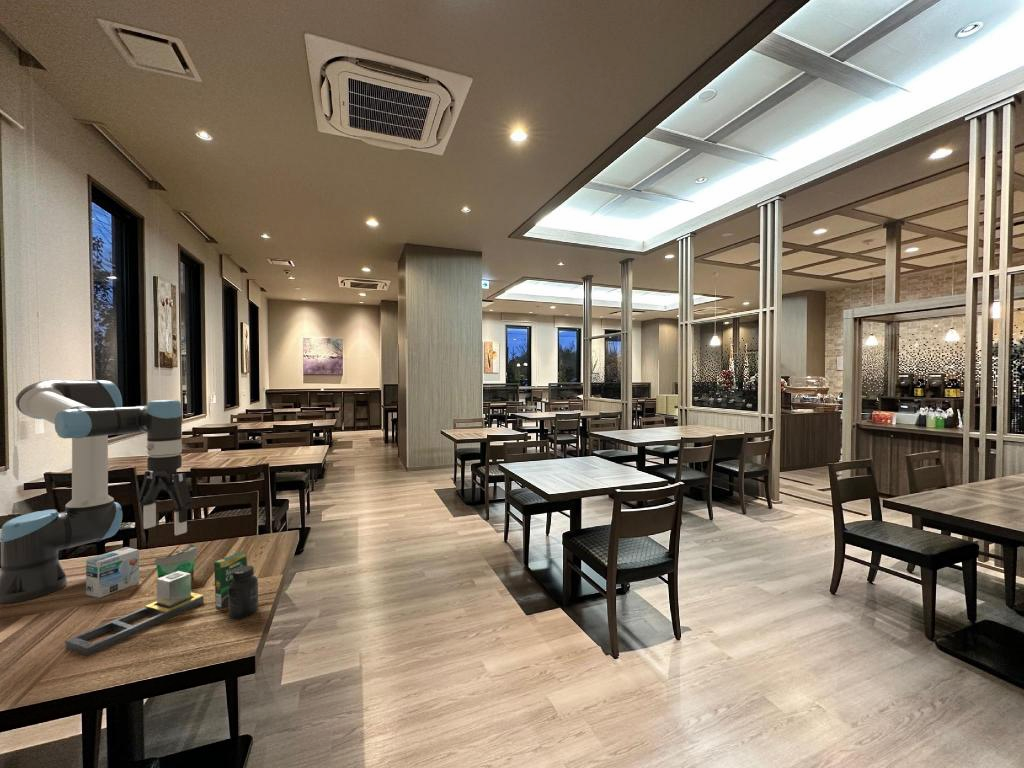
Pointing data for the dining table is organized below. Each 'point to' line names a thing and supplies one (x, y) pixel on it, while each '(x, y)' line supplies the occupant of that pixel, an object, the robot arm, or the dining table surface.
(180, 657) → the dining table surface
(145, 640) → the dining table surface
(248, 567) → the supplement bottle
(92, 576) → the light bulb box
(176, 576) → the white rectangular block
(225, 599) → the coffee box
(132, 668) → the dining table surface
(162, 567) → the food container
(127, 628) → the rail
